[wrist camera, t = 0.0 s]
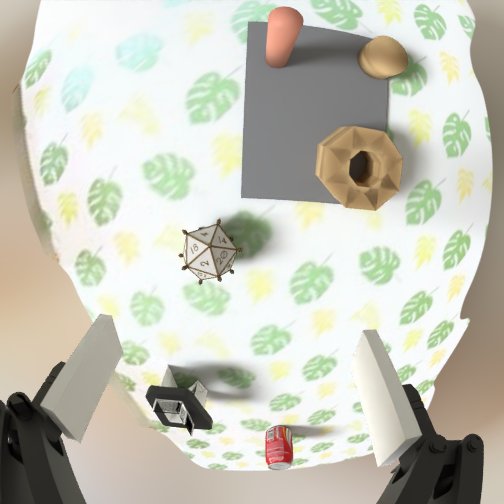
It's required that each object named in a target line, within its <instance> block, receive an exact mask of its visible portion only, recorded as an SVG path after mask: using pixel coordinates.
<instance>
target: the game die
mask: <svg viewBox="0 0 504 504" xmlns="http://www.w3.org/2000/svg"><path fill="white" fill-rule="evenodd" d="M220 222H221V220H220V218H219V219H218V220H217V224H215V225H212V226H209V227H205V228H200V227H199V229H198V230H196V231H193V232H190V233H187V231H186V230H182V231H183V233H184V234H186V240H185V246H184V252H183V254H180V255H179V257H184V260H185V264H186V266H183V267H182V270H185V269H187V268H188V269H189V270H190V271H192V272H193V273H194V274H195V275H196V276H197V277H198V278H199V279H200V280H199V282H198V283H199V285H201V284H202V280H205V279H211V278H216V277H218V278H217V279H218V281H220V282H221V280H222V279H221V277H220V276H221V275H223V274H225V273H227V272H228V271H230V273H231V274H234V270H231V267H232V264H233V262H234V259H235V256H236V254H237V251H239V252H240V251H241V252H242V250H244V249H243V248H238V249H237V248H236V246H235V245H234V244H233V242H232V241H233V238H231V237H230V238H229V237H228V236H227V235H226V233H225V232H224V231H223V229H222V228H221V227H220V225H219V224H220Z"/></svg>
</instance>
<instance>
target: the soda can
mask: <svg viewBox="0 0 504 504" xmlns="http://www.w3.org/2000/svg"><path fill="white" fill-rule="evenodd" d="M292 462H293V444H292V434H291V430H290V429H288V428H286V427H284V426H275V427H272V428H271V429H269V430H267V432H266V463H267V464H268V468H269V469H272V470H284V469H288V468H290V467H291V463H292Z"/></svg>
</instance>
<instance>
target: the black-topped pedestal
mask: <svg viewBox="0 0 504 504" xmlns="http://www.w3.org/2000/svg"><path fill="white" fill-rule="evenodd" d="M207 392H208V390H207V389H206V388H205V387H204V386H203V385H202V384H201V383H200V382H199V381H198V380H197V381H196V382H195V383H194V385H192V386H191V387H190V388H188V389H187V388H178V386H177V384H176V382H175V380H174V377H173V375H172V373H171V370H170V368H169V366H168V365H167V366H166V369H165V372H164V375H163V378H162V381H161V384H160V386H153V385H151V386H150V387H149V388H148V391H147V394H146V399H147V400H148V402H149V404H150V405H151V407H152V408H153V409H152V412H155V413H156V415H157V416H158V418H159V419H160V421H161V422H162V424H163V425H165V426H170V427H180V428H187V430H188V431H189V430H190V431H189V433H190V436H192V434H193V429H206V430H210V429H212V423H213V421H212V418H211V417H210V415H209V414H208V413H207V411H206V410H205V403H206V398H207ZM188 428H189V429H188Z"/></svg>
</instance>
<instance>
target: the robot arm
mask: <svg viewBox="0 0 504 504" xmlns="http://www.w3.org/2000/svg"><path fill="white" fill-rule="evenodd" d="M122 354H123V350H122V347H121V344H120V341H119V338H118V335H117V332H116V329H115V325H114V322H113V319H112V316H110V315H104V314H100V315H99V316H98V318H97V319H96V320H95V322H94V323H93V325H92V326H91V327H90V329H89V330H88V332H87V333H86V335H85V336H84V337H83V339H82V340H81V342H80V343H79V345H78V346H77V347H76V349H75V350H74V352H73V353H72V355H71V356H70V358H69V359H68V361H67V362H66V363H64V362H62V361H61V362H60V363H59V364H57V365H56V366H55V367H54V368H53V369H52V371H51V372H50V374H49V376H48V377H47V378H46V380H45V382H44V383H43V385H42V386H41V388H40V389H39V391H38V393H37V394H36V396H35V397H34V399H33V401H32V402H31V401H30V399H29V398H28V397H27V396H26V395H25V394H24V393H22V392H16V393H13V394H12V395H11V396H10V397H9V398H8V400H7V405H5V404H4V403H3V402H2V401H1V400H0V504H86V502H85V499H84V497H83V495H82V493H81V490H80V488H79V486H78V483H77V481H76V478H75V476H74V473H73V471H72V468H71V465H70V463H69V459H68V456H67V453H66V450H65V447H64V444H63V440H62V438H61V437H60V436H61V434H62V433H64V435H65V436H66V437H67V438H68V439H71V440H73V441H76V442H78V443H81V440H82V438H83V436H84V433H85V431H86V429H87V426H88V424H89V422H90V420H91V418H92V415H93V413H94V411H95V409H96V407H97V405H98V402H99V400H100V398H101V396H102V394H103V392H104V390H105V388H106V386H107V384H108V382H109V380H110V378H111V376H112V374H113V372H114V370H115V368H116V366H117V364H118V362H119V360H120V358H121V356H122ZM350 369H351V372H352V375H353V378H354V382H355V385H356V388H357V391H358V395H359V398H360V402H361V405H362V409H363V412H364V416H365V419H366V423H367V426H368V430H369V434H370V438H371V441H372V445H373V449H374V453H375V457H376V461H377V465H378V467H381V466H385V465H389V464H393V463H394V462H395V461H396V460H397V459H398V458H399V461H400V464H399V465H398V466H397V467H396V468H395V469H393V470H392V472H391V473H394V472H395V473H394V475H393V476H392V478H391V480H390V482H389V484H388V485H387V487H386V489H385V491H384V492H383V494H382V496H381V497H380V499H379V501H378V502H377V503H376V504H480V500H481V492H482V481H483V462H484V461H483V460H484V445H483V441H482V439H481V438H480V437H479V436H478V435H476V434H469V435H468V436H466V437H465V438H464V439H463V440H446V439H445V437H443V436H441V435H437V434H436V432H435V430H434V428H433V425H432V423H431V421H430V418H429V416H428V413H427V411H426V409H425V408H424V404H423V402H422V401H421V397H420V395H419V393H418V391H417V390H416V389H415V388H414V387H413V386H412V385H411V384H406V385H402V384H401V382H400V380H399V377H398V375H397V373H396V371H395V368H394V366H393V364H392V362H391V360H390V358H389V355H388V353H387V351H386V349H385V347H384V345H383V343H382V341H381V339H380V337H379V335H378V333H377V331H376V330H363V332H362V335H361V338H360V340H359V343H358V346H357V349H356V352H355V354H354V357H353V359H352V362H351V365H350ZM8 438H9V442H8Z"/></svg>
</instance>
